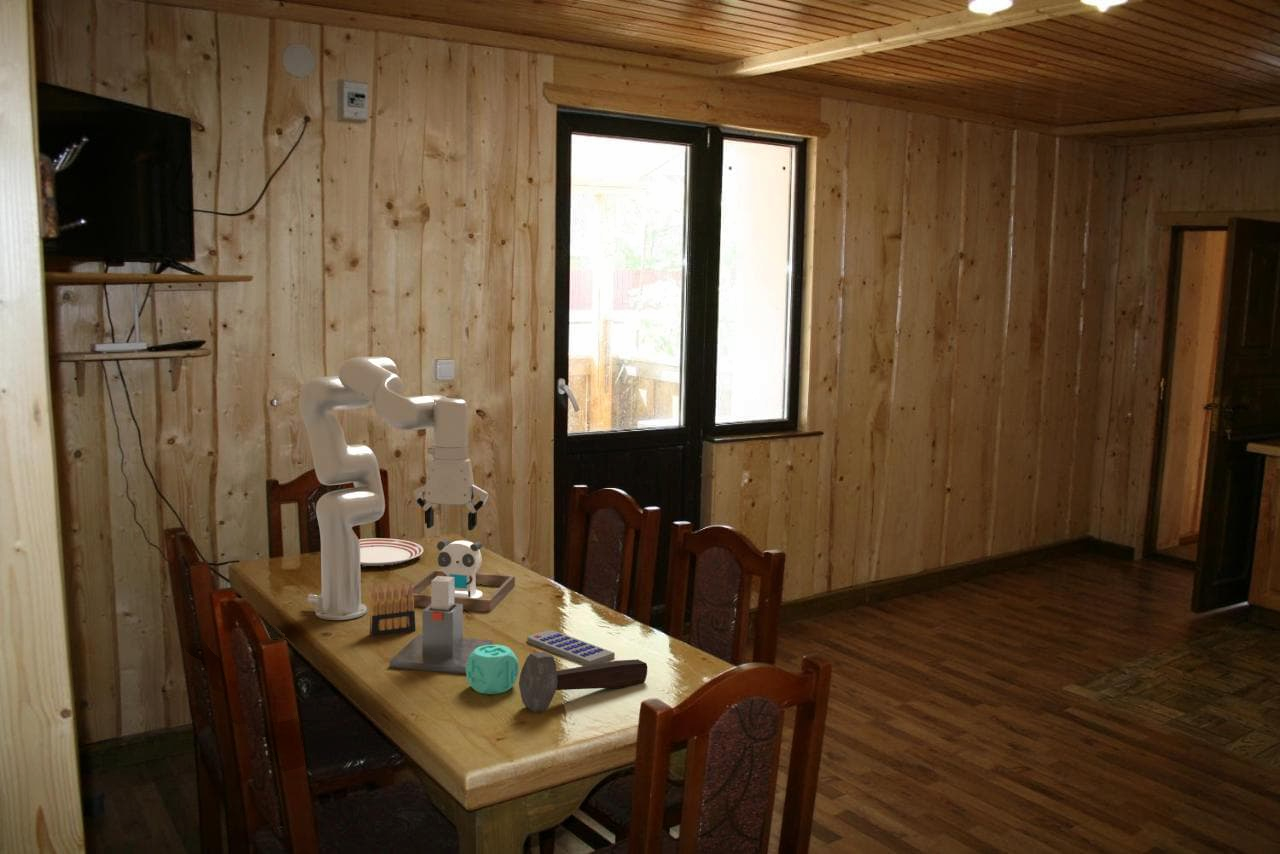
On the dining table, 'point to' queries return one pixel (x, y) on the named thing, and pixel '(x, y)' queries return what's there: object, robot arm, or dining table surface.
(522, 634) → the dining table surface
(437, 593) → the column
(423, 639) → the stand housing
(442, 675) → the dining table surface
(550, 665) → the hammer
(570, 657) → the remote control
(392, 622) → the ammunition clip
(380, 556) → the dinner plate
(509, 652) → the decorative dice
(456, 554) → the panda figurine
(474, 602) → the frame
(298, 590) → the dining table surface
